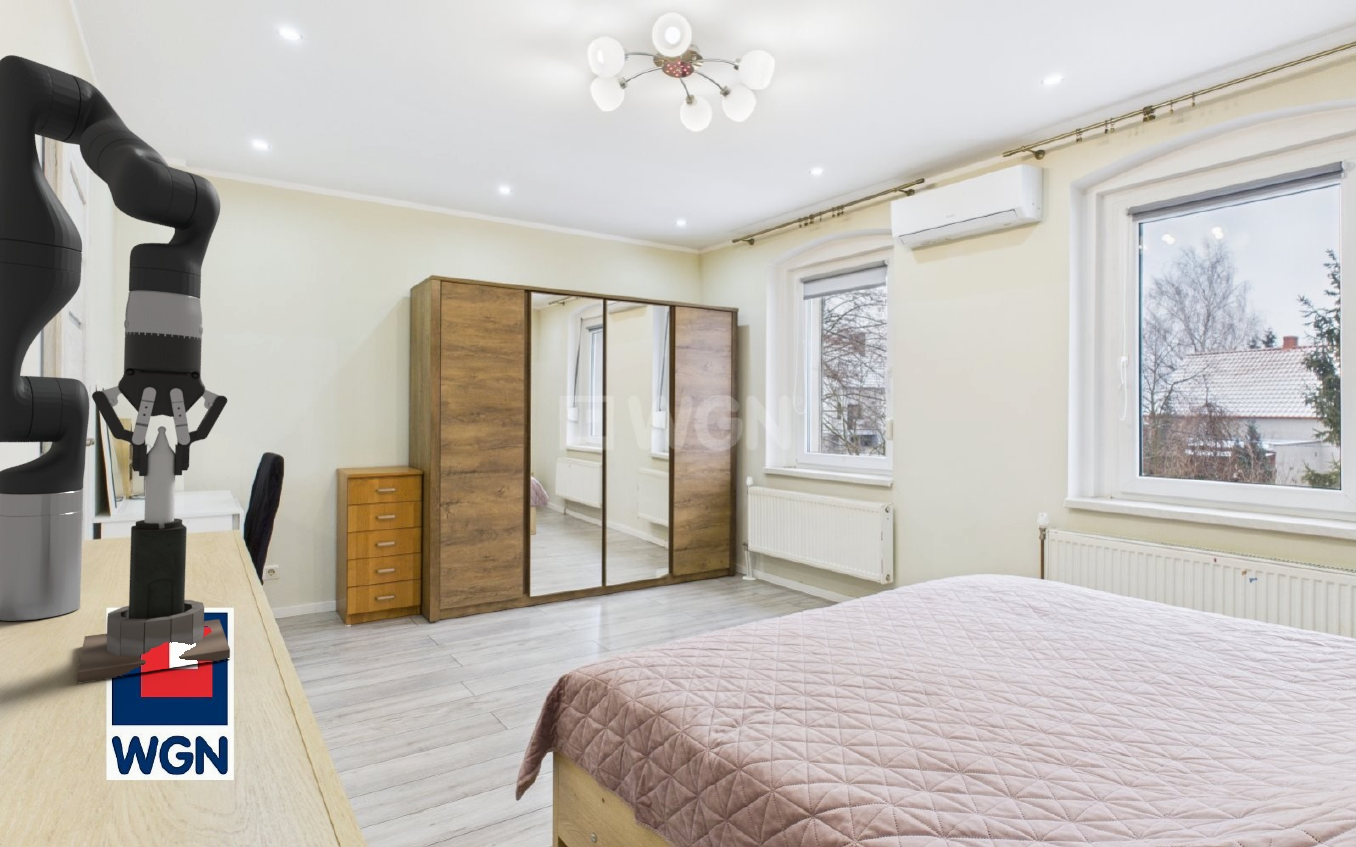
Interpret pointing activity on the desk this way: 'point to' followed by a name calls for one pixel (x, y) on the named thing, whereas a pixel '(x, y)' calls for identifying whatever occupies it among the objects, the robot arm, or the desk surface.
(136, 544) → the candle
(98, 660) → the holder
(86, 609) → the desk surface
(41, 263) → the robot arm
